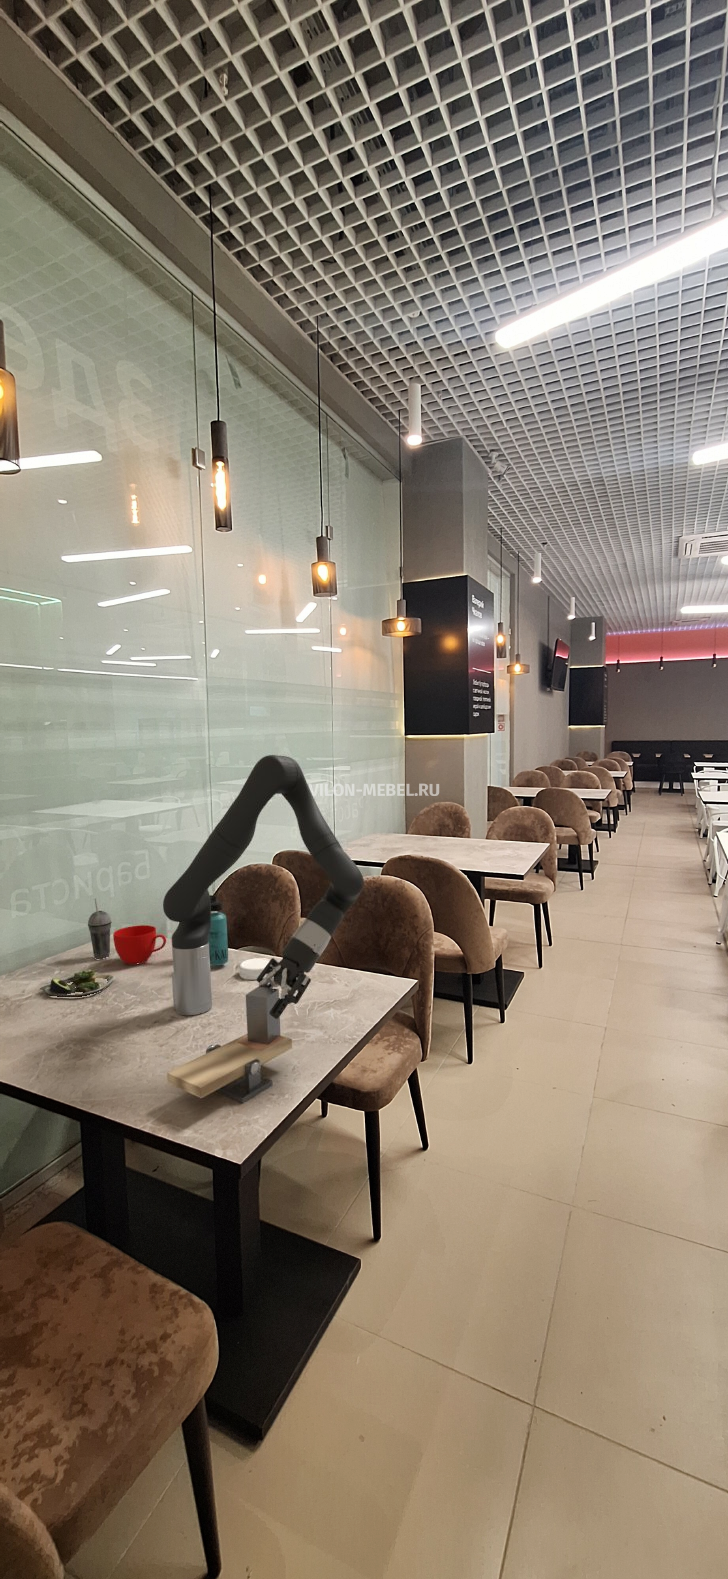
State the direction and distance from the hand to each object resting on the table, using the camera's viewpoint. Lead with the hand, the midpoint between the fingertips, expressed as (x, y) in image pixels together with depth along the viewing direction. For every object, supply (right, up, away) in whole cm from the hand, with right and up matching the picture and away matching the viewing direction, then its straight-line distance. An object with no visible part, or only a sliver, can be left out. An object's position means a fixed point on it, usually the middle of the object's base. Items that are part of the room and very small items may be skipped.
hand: (262, 1010), depth 141 cm
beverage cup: (-64, -9, +78) cm, 101 cm away
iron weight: (0, -6, +1) cm, 6 cm away
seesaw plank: (-5, -8, -6) cm, 11 cm away
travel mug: (-28, -8, +75) cm, 81 cm away
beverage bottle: (-24, -8, +65) cm, 70 cm away
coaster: (-10, -9, +58) cm, 59 cm away
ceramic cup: (-49, -9, +72) cm, 88 cm away
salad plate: (-61, -11, +51) cm, 80 cm away
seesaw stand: (-5, -13, -6) cm, 15 cm away
